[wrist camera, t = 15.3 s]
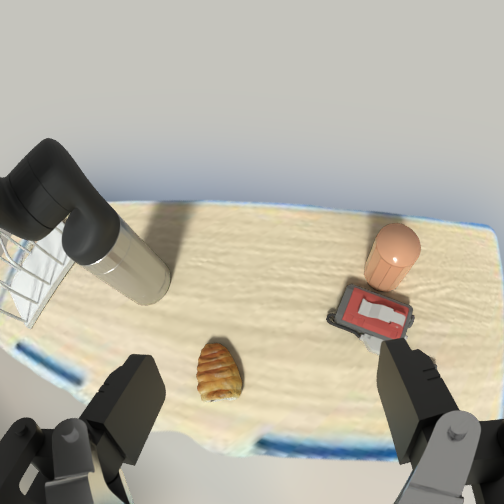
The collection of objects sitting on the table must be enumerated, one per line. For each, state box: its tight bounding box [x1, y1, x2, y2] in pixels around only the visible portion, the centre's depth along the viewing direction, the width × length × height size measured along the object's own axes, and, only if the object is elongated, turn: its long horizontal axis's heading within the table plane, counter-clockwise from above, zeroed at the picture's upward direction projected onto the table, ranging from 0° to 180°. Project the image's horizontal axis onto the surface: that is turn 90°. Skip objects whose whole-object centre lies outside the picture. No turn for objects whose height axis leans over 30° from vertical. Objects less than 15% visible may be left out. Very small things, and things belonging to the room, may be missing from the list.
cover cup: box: [364, 223, 421, 292], centre depth 41 cm, size 7×7×10 cm
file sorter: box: [0, 221, 75, 329], centre depth 52 cm, size 25×17×16 cm
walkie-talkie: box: [326, 284, 437, 369], centre depth 39 cm, size 9×4×20 cm
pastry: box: [196, 343, 242, 402], centre depth 41 cm, size 9×7×4 cm
